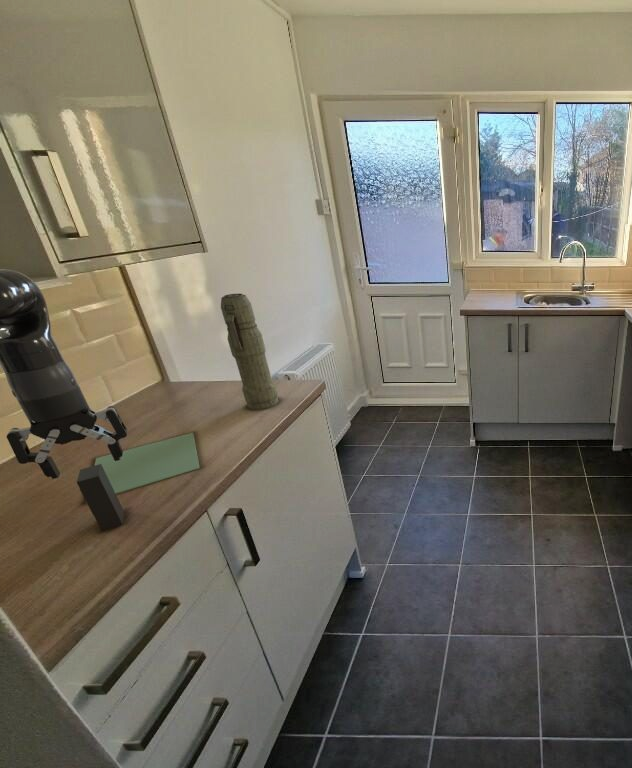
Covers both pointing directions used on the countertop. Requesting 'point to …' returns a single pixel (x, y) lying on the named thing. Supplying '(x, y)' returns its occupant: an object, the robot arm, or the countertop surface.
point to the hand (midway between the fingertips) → (88, 467)
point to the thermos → (248, 352)
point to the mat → (151, 463)
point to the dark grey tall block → (100, 497)
